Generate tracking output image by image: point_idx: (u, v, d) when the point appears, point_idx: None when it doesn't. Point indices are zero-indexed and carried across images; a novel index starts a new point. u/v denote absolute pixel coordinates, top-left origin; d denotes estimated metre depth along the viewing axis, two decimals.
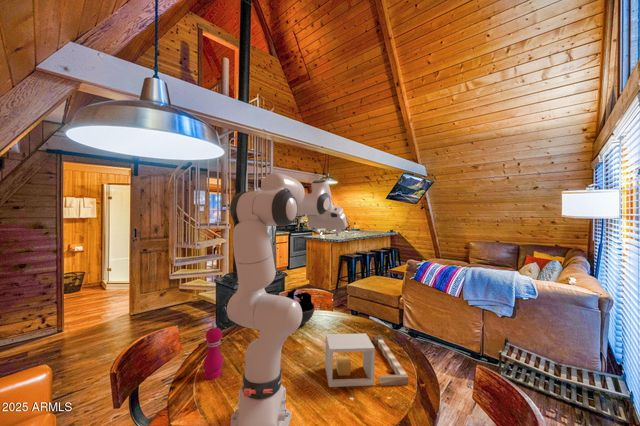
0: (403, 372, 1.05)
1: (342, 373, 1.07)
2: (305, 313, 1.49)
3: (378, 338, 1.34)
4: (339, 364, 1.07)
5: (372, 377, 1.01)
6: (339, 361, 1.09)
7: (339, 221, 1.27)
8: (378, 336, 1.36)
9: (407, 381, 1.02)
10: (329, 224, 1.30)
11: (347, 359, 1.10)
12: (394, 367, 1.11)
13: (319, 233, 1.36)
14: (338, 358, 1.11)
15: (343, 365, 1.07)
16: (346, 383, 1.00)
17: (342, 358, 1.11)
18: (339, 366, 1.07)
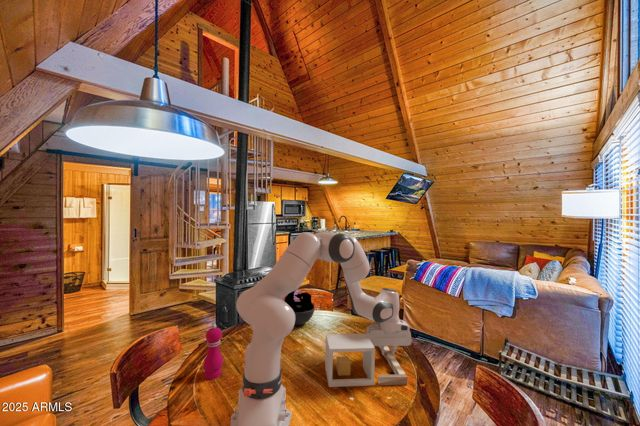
0: (402, 372, 1.05)
1: (342, 373, 1.07)
2: (305, 313, 1.49)
3: None
4: (339, 364, 1.07)
5: (372, 377, 1.01)
6: (339, 361, 1.09)
7: (406, 335, 1.20)
8: None
9: (406, 381, 1.02)
10: (394, 340, 1.20)
11: (347, 359, 1.10)
12: (393, 367, 1.11)
13: (384, 352, 1.20)
14: (338, 358, 1.11)
15: (343, 365, 1.07)
16: (346, 383, 1.00)
17: (342, 358, 1.11)
18: (339, 367, 1.07)
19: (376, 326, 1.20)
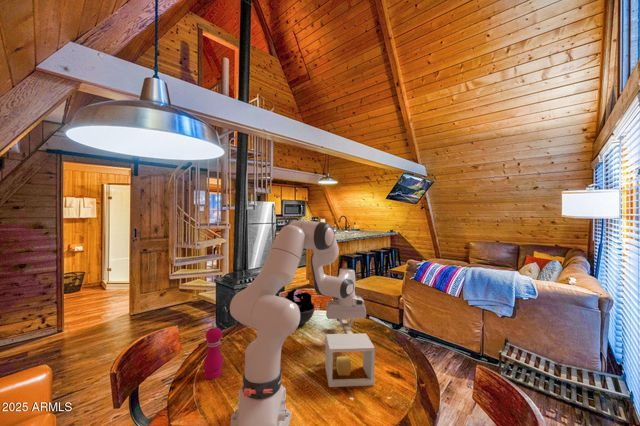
0: None
1: (342, 373, 1.07)
2: (305, 313, 1.49)
3: None
4: (339, 364, 1.07)
5: (372, 377, 1.01)
6: (339, 361, 1.09)
7: (361, 309, 1.35)
8: None
9: None
10: (350, 313, 1.34)
11: (347, 359, 1.10)
12: None
13: (342, 325, 1.34)
14: (338, 358, 1.11)
15: (343, 365, 1.07)
16: (346, 383, 1.00)
17: (342, 358, 1.11)
18: (339, 367, 1.07)
19: (335, 301, 1.35)
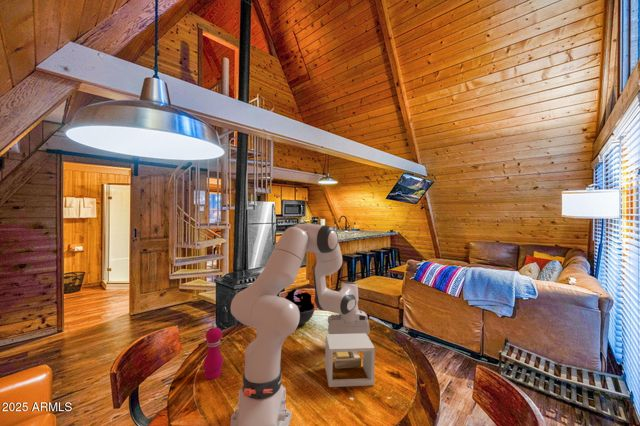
0: (357, 356, 1.14)
1: None
2: (305, 313, 1.49)
3: None
4: (338, 357, 1.12)
5: (372, 377, 1.01)
6: (338, 355, 1.13)
7: (364, 325, 1.29)
8: None
9: (360, 364, 1.11)
10: (353, 329, 1.29)
11: (346, 353, 1.15)
12: (351, 352, 1.20)
13: None
14: (337, 352, 1.16)
15: (342, 358, 1.12)
16: (346, 383, 1.00)
17: (341, 352, 1.16)
18: None
19: (337, 316, 1.30)
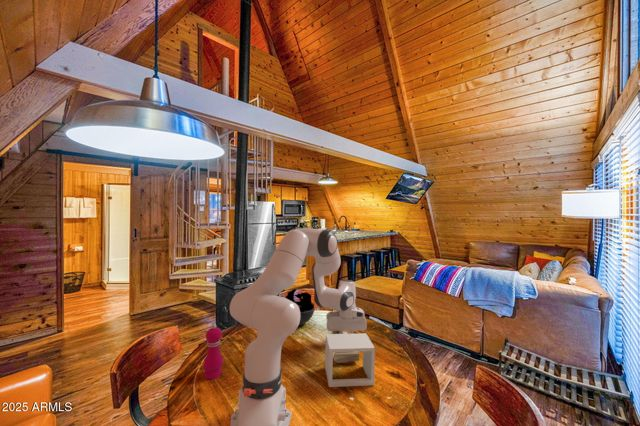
0: None
1: None
2: (305, 313, 1.49)
3: None
4: (337, 352, 1.16)
5: (372, 377, 1.01)
6: None
7: (362, 321, 1.34)
8: None
9: (358, 357, 1.15)
10: (351, 325, 1.34)
11: None
12: None
13: None
14: None
15: None
16: (346, 383, 1.00)
17: None
18: None
19: (335, 313, 1.34)
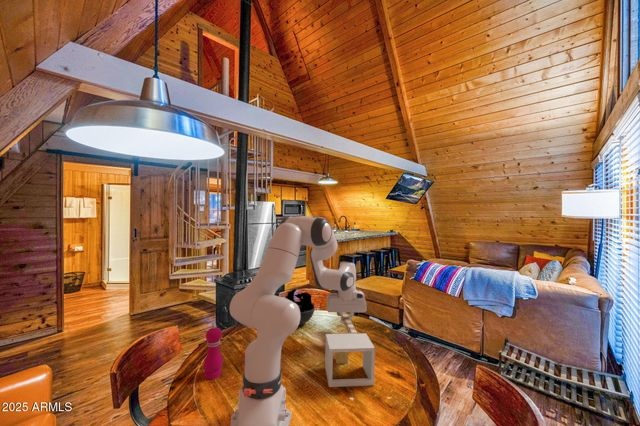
0: (354, 331, 1.18)
1: (340, 361, 1.16)
2: (305, 313, 1.49)
3: None
4: (337, 353, 1.16)
5: (372, 377, 1.01)
6: None
7: (362, 303, 1.34)
8: None
9: None
10: (351, 306, 1.34)
11: None
12: (348, 328, 1.23)
13: (342, 318, 1.34)
14: None
15: (341, 354, 1.16)
16: (346, 383, 1.00)
17: None
18: (338, 355, 1.16)
19: (335, 294, 1.34)
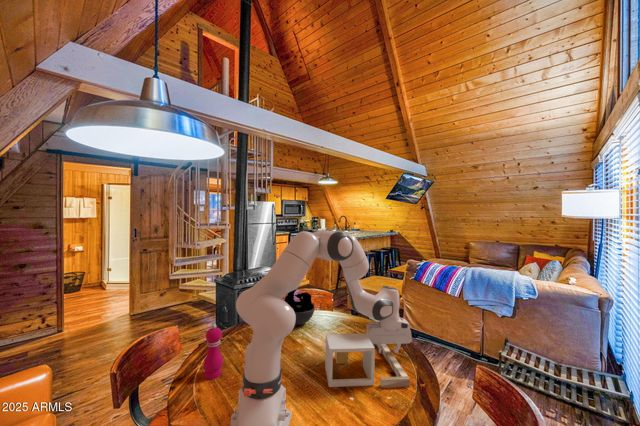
0: (404, 374, 1.04)
1: (340, 361, 1.16)
2: (305, 313, 1.49)
3: None
4: (337, 353, 1.16)
5: (372, 377, 1.01)
6: None
7: (406, 333, 1.20)
8: None
9: (408, 383, 1.01)
10: (394, 337, 1.20)
11: None
12: (395, 369, 1.09)
13: (381, 350, 1.20)
14: None
15: (341, 354, 1.16)
16: (346, 383, 1.00)
17: None
18: (338, 355, 1.16)
19: (376, 324, 1.20)
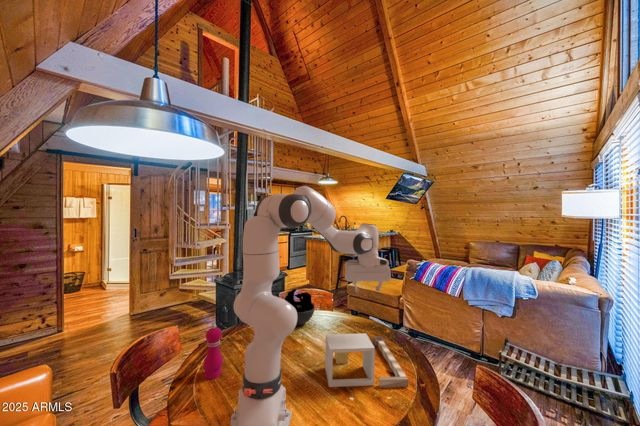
0: (403, 374, 1.04)
1: (340, 361, 1.16)
2: (305, 313, 1.49)
3: (378, 339, 1.33)
4: (337, 353, 1.16)
5: (372, 377, 1.01)
6: None
7: (385, 271, 1.17)
8: (378, 337, 1.35)
9: (407, 383, 1.01)
10: (373, 275, 1.17)
11: None
12: (394, 369, 1.09)
13: (357, 288, 1.17)
14: None
15: (341, 354, 1.16)
16: (346, 383, 1.00)
17: None
18: (338, 355, 1.16)
19: (355, 261, 1.17)
